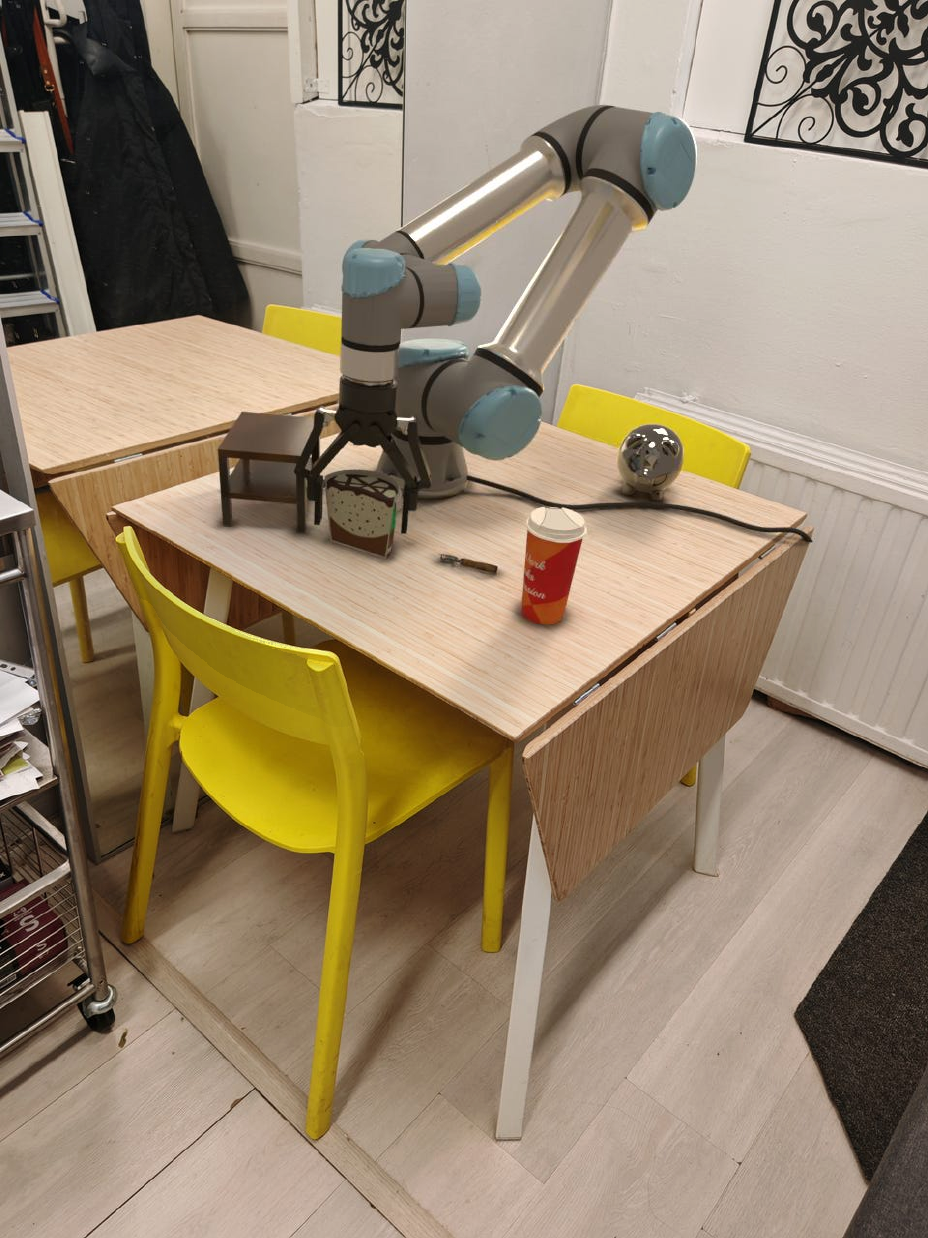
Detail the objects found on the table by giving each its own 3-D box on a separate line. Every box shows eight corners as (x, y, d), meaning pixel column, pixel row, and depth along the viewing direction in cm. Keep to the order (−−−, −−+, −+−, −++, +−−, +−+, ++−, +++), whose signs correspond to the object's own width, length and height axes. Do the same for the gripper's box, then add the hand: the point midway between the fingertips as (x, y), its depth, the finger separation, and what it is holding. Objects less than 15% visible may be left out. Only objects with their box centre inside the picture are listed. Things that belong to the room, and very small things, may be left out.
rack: (320, 489, 144) (320, 418, 138) (305, 532, 132) (304, 456, 125) (245, 483, 144) (241, 411, 137) (222, 526, 131) (217, 448, 125)
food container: (416, 545, 131) (420, 482, 126) (395, 562, 126) (398, 497, 121) (344, 522, 135) (345, 460, 130) (321, 538, 130) (321, 474, 125)
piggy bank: (604, 502, 149) (616, 437, 143) (617, 469, 162) (629, 408, 155) (671, 516, 147) (687, 450, 141) (679, 481, 159) (693, 419, 153)
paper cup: (509, 596, 121) (522, 502, 114) (565, 598, 122) (581, 505, 115) (517, 629, 115) (531, 531, 107) (576, 630, 116) (594, 534, 108)
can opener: (498, 571, 126) (498, 564, 126) (491, 578, 125) (492, 571, 124) (440, 554, 129) (441, 547, 129) (433, 561, 127) (434, 554, 127)
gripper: (460, 377, 121) (444, 522, 133) (282, 358, 120) (282, 505, 132) (459, 395, 115) (443, 545, 126) (271, 375, 114) (272, 528, 125)
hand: (361, 525), depth 129 cm, fingers closed on food container, 12 cm apart
